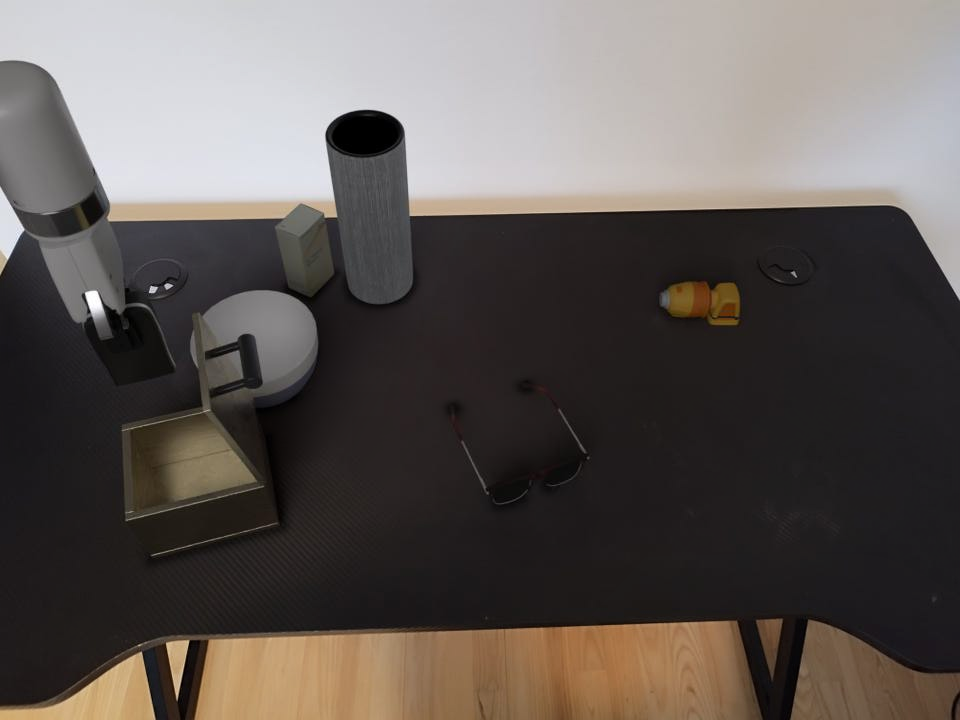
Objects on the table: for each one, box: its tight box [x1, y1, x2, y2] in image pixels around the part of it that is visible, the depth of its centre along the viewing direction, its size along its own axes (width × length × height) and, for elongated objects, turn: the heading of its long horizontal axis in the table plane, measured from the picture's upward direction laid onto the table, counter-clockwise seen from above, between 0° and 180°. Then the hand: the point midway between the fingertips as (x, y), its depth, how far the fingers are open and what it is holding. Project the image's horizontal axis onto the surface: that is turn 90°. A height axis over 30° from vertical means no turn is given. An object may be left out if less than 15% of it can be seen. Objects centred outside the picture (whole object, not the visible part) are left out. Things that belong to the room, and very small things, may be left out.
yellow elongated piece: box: [658, 280, 741, 326], centre depth 117 cm, size 5×6×12 cm
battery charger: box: [81, 290, 177, 387], centre depth 86 cm, size 7×4×11 cm, turn 110°
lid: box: [191, 312, 267, 485], centre depth 85 cm, size 16×13×5 cm
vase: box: [324, 109, 414, 305], centre depth 110 cm, size 10×10×27 cm
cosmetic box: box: [274, 202, 335, 298], centre depth 116 cm, size 6×4×12 cm
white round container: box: [189, 289, 319, 409], centre depth 105 cm, size 16×16×10 cm
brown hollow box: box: [121, 406, 281, 559], centre depth 94 cm, size 15×13×10 cm
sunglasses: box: [450, 382, 590, 505], centre depth 102 cm, size 14×16×5 cm
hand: (126, 331), depth 85 cm, fingers closed on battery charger, 4 cm apart
